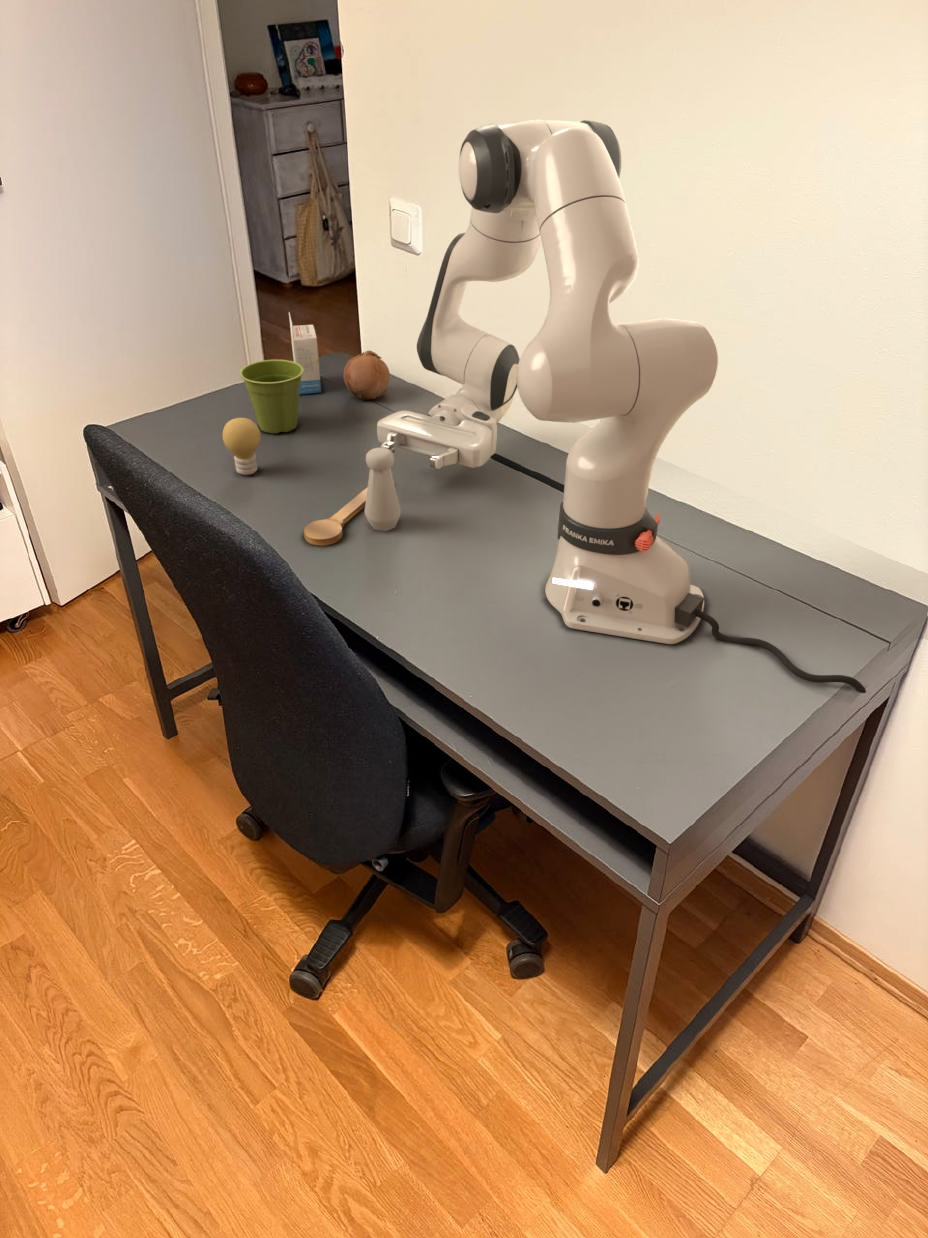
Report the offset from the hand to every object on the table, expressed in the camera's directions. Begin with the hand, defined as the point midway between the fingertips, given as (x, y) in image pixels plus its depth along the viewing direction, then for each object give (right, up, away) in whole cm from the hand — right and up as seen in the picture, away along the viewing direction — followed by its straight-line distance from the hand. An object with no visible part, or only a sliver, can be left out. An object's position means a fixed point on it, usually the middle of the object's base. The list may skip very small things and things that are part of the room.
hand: (408, 457), depth 148 cm
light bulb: (-30, 0, +14) cm, 33 cm away
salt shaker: (-4, -11, 0) cm, 12 cm away
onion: (-11, +20, +41) cm, 46 cm away
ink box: (-24, +23, +45) cm, 56 cm away
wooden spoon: (-10, -9, +3) cm, 13 cm away
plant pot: (-27, +11, +29) cm, 41 cm away
